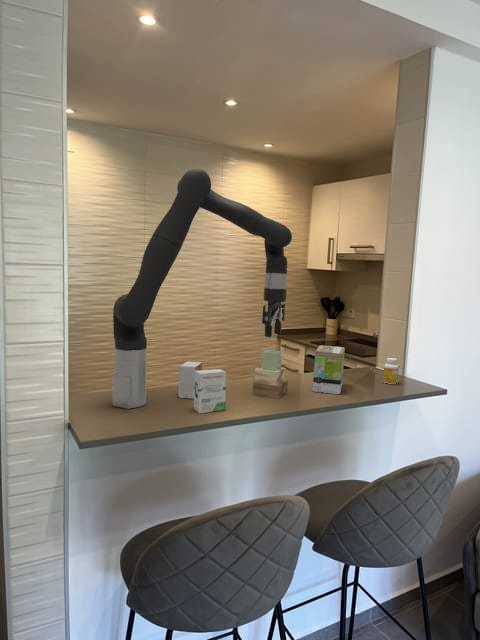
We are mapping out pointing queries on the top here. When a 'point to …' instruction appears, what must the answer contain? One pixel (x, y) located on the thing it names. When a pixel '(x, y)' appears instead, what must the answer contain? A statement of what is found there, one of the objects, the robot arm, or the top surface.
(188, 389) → the small box
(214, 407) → the ink box
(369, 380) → the top surface
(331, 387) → the tea box
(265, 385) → the walnut block
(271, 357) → the sage block
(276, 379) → the maple block
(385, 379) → the supplement bottle
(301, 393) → the top surface
